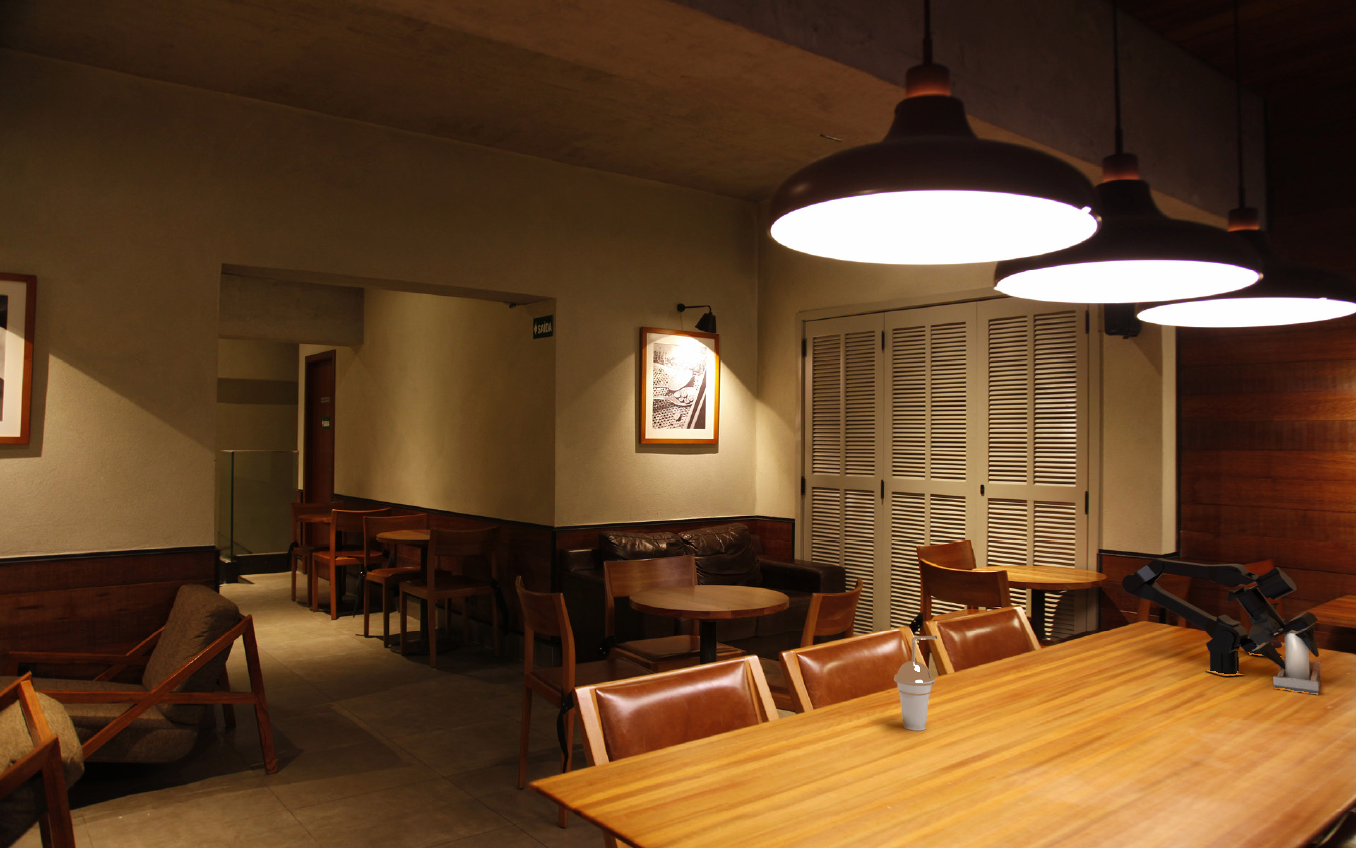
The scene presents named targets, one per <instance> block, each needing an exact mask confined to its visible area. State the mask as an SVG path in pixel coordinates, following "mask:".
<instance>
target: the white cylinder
mask: <svg viewBox="0 0 1356 848" xmlns="http://www.w3.org/2000/svg"><path fill="white" fill-rule="evenodd" d="M1296 633H1298V632H1296V631H1293V630H1292V631H1289V632H1287V633H1284V658H1285V670H1286V677H1287V678H1295V679H1302V680H1310V674H1309V660H1310V650H1309V648H1308V647H1307V646H1306V645H1305V643H1304V642H1303V641H1302V639H1301V638H1299V637H1297V636H1296V635H1295V634H1296Z"/></svg>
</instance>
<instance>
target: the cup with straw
mask: <svg viewBox="0 0 1356 848" xmlns="http://www.w3.org/2000/svg"><path fill="white" fill-rule="evenodd" d="M937 639H938V637H937V635H919V636H917V635H916V636H913V637H912V639H911V660H909V661H906V662H904V663H903V664H901V666H900V667H899V669H898V671H897V673H896V674H894V678H893V680H894V682H895V683H896V684H897V689H898V694H899V698H900V699H899V700H900V708H901V718H902V721H903V729H906V730H908V731H917V732H918V731H925V730H926V724H927V719H928V708H929V700H930V696H931V691H932V686H933V685H935V683H936V681H935V678H934V677H933V676H932V674H931V672H930V670H929V668H928V667H927V665H925V664H924V663H922V662H920V661H916V640H937Z"/></svg>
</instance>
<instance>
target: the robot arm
mask: <svg viewBox="0 0 1356 848" xmlns="http://www.w3.org/2000/svg"><path fill="white" fill-rule="evenodd" d="M1163 574H1166V575H1173V576H1181V577H1188V578H1193V579H1203V580H1207V581H1211V582H1213V583H1215V584H1218V585H1222V586H1225V587H1228V588H1235V587H1240V586H1241V587H1240V588H1238V589H1236V590H1234V589H1229V590H1228V591H1227V592H1228V594H1227V595H1228V596H1227V598H1226V601H1227V602H1232V601H1233V600H1237V601H1238V603H1239V604H1240V605H1241V607H1242V608H1243V609H1244V610H1245V612H1246V613H1247V615H1249V617H1248V621H1249V623H1250V624H1251V626H1250V629H1249V632H1247V629H1246V628H1245V627H1244V625H1241V621H1237V620H1234V619H1233V618H1231V617H1230V616H1229V615H1227V614H1223V615H1220V616H1213V615H1212V614H1210V613H1208V612H1206V611H1204V610H1202V609H1200V608H1198V607H1196V606H1195V605H1193V604H1191V603H1190V602H1187V601H1186V600H1184V599H1182V598H1180V597H1179V596H1176V595H1174V594H1173V593H1170V592H1169V591H1166V590H1165V589H1164V588H1162V586H1160V585H1159V583H1158V582H1156V581H1157V580H1158V579H1159V578H1160V577H1161V576H1162V575H1163ZM1121 584H1122V585H1121V586H1122V589H1123V591H1124V592H1125V593H1127V594H1129V595H1131V596H1134V597H1137V598H1140V599H1144V600H1147V601H1150V602H1154V603H1156V604H1157V605H1158V606H1161V607H1162V608H1164V609H1166V610H1168V611H1170V612H1172V613H1173V614H1175V615H1178V616H1179V617H1181V619H1184V620H1186V621H1188V622H1190V623H1192V624H1193V625H1195V626H1196V627H1199V628H1200V629H1202V630H1203V631H1204V632H1205V633H1206V634H1207V635H1208V636H1209V637H1210V638H1211V639H1210V640H1209V641H1208V642H1206V644H1205V645H1206V647H1207V651H1208V652H1209V669H1210V671H1216V672H1218V673H1224V674H1236V673H1237V671H1239V672H1240V657H1239V650H1240V648H1241V649H1243V651H1244V652H1245V654H1246V653H1247V654H1248V652H1249V651H1252V652H1251V653H1258V654H1262V655H1264V656H1263V657H1266V658H1267V659H1269V660H1271V662H1273V663H1274V664H1276V665H1277V666H1278V665H1279V666H1280V667H1281V668H1283V669H1285V663H1284V661H1283V660H1282V658H1281V657H1280V655H1279V654H1278V653H1279V652H1278V650H1277V648H1274V646H1273V645H1272V643H1271V642H1269V641H1272V640H1274V639H1275V638H1277V637H1279V636H1282V635H1285V633H1287V632H1289V631H1292V630H1293V631H1296V632H1298V633H1296V634H1295V635H1296V636H1297V637H1299V638H1301V639H1302V641H1303V642H1304V643H1305V645H1306V646H1307V647H1308V648H1309V652H1311V654H1312V655H1313V656H1314V657H1315V658H1318V657H1319V656H1320V654H1319V649H1318V645H1317V642H1316V638H1315V637H1316V636H1315V630H1314V627H1316V622H1318V621H1319V619H1318V617H1317V616H1316V615H1315V614H1314V613H1313V612H1310V611H1305V612H1303V613H1301V614H1299V615H1295V617H1294V618H1292V619H1290V620H1289V621H1288V620H1287V619H1286V618H1283V619H1282V617H1281V616H1280V614H1279V613H1278V612H1277V611H1276V609H1277V608H1278V607H1277V605H1275V604H1273V605H1272V604H1271V603H1270V602H1269V601H1268V600H1267V599H1272V601H1276V600H1279V599H1281V598H1283V597H1285V596H1287V595H1288V594H1290V593H1294V592H1295V591H1297V585H1296V584H1295V582H1294V581H1293V579H1292V577H1290V576H1288V575H1287V574H1286V573H1285V572H1284V571H1283V570H1281V568H1280V567H1275V568H1272V569H1271V570H1270V571H1268V572H1265V573H1264V574H1262V575H1259V574H1256V573H1254V572H1252V571H1250V570H1248V569H1247V567H1245V566H1244V565H1242V564H1239V563H1229V564H1228V563H1226V564H1225V563H1224V564H1204V563H1196V562H1188V561H1182V560H1180V561H1179V560H1172V559H1165V558H1163V557H1161V558H1160V557H1159V558H1154V559H1151V561H1150V562H1149V563H1148V564H1147V565H1145V566H1143V567H1142V568H1140V569H1138V570H1137V571H1136V572H1134V573H1132V574H1131V573H1130V574H1127V575H1126V576H1124V577H1123V579H1122V581H1121ZM1253 584H1256V585H1254V586H1251V587H1248V585H1253ZM1265 642H1267V643H1265ZM1240 646H1241V647H1240Z"/></svg>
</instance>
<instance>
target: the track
mask: <svg viewBox="0 0 1356 848" xmlns="http://www.w3.org/2000/svg"><path fill="white" fill-rule="evenodd" d="M1281 658H1282V660H1283V661H1284V663H1285V656H1283V657H1281ZM1277 666H1278V671H1279V672H1278V671H1277V675H1273V677H1272V679H1273V688H1274V687H1275V688H1285V689H1290V690H1294V691H1304V692H1309V693H1318V692H1319V693H1320V688H1319V685H1320V686H1321V681H1320V678H1321V679H1322V673H1321V661H1315V660H1310V659H1309V674H1310V680H1302V679H1295V678H1287V677H1286V670H1285V669H1283V668H1281V667H1280V666H1279V665H1277Z"/></svg>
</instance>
